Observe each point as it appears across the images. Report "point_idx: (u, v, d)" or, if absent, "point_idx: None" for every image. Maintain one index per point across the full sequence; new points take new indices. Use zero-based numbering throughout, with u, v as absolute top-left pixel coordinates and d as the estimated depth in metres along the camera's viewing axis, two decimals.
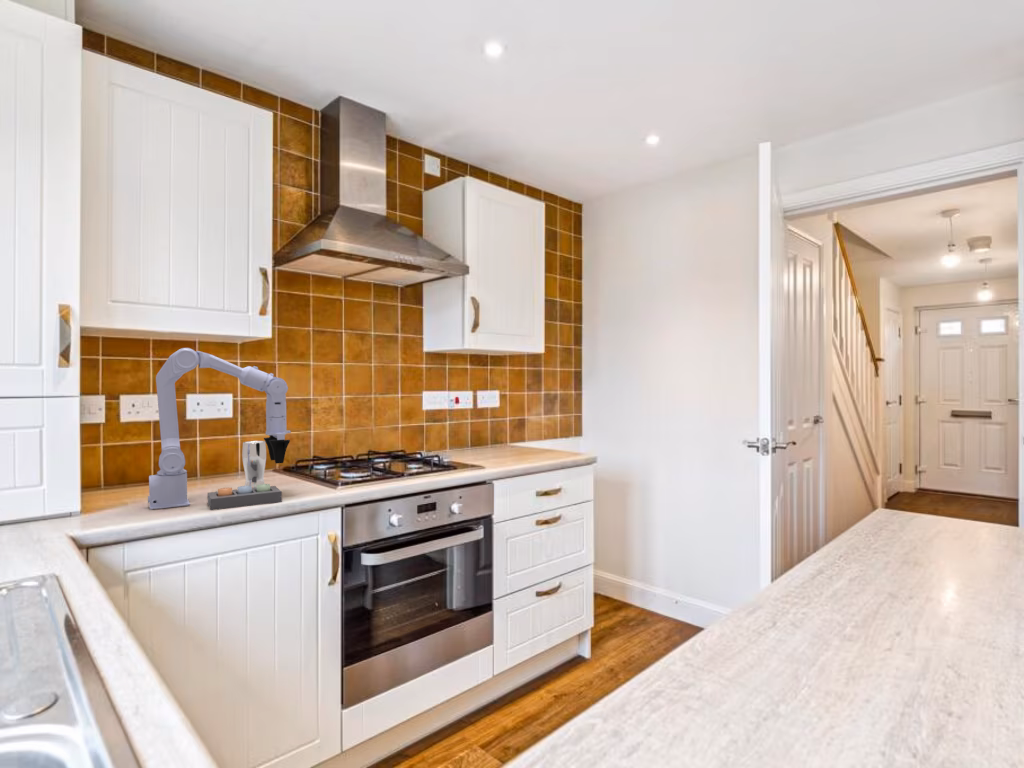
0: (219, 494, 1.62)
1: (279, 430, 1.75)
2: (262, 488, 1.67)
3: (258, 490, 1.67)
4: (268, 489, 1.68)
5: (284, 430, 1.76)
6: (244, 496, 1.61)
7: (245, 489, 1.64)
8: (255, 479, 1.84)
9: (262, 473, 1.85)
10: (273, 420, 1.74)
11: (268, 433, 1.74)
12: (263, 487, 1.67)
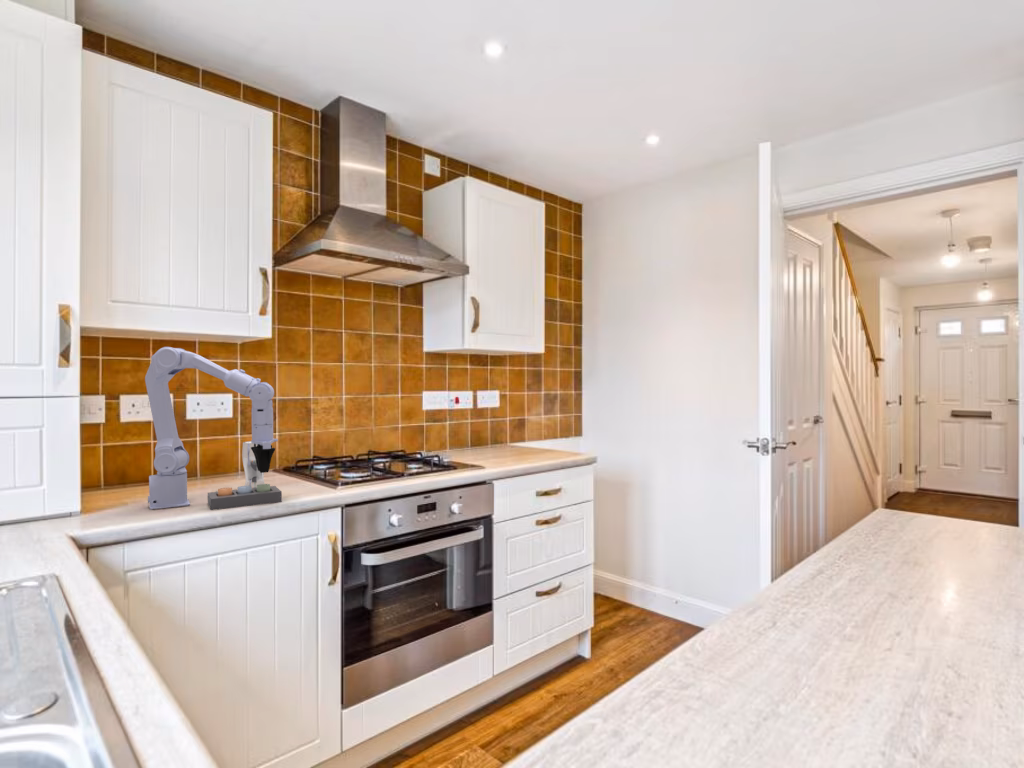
0: (219, 494, 1.62)
1: (265, 438, 1.66)
2: (262, 488, 1.67)
3: (258, 490, 1.67)
4: (268, 489, 1.68)
5: (271, 438, 1.67)
6: (244, 496, 1.61)
7: (245, 489, 1.64)
8: (255, 479, 1.84)
9: (262, 473, 1.85)
10: (259, 428, 1.65)
11: (254, 442, 1.65)
12: (263, 487, 1.67)
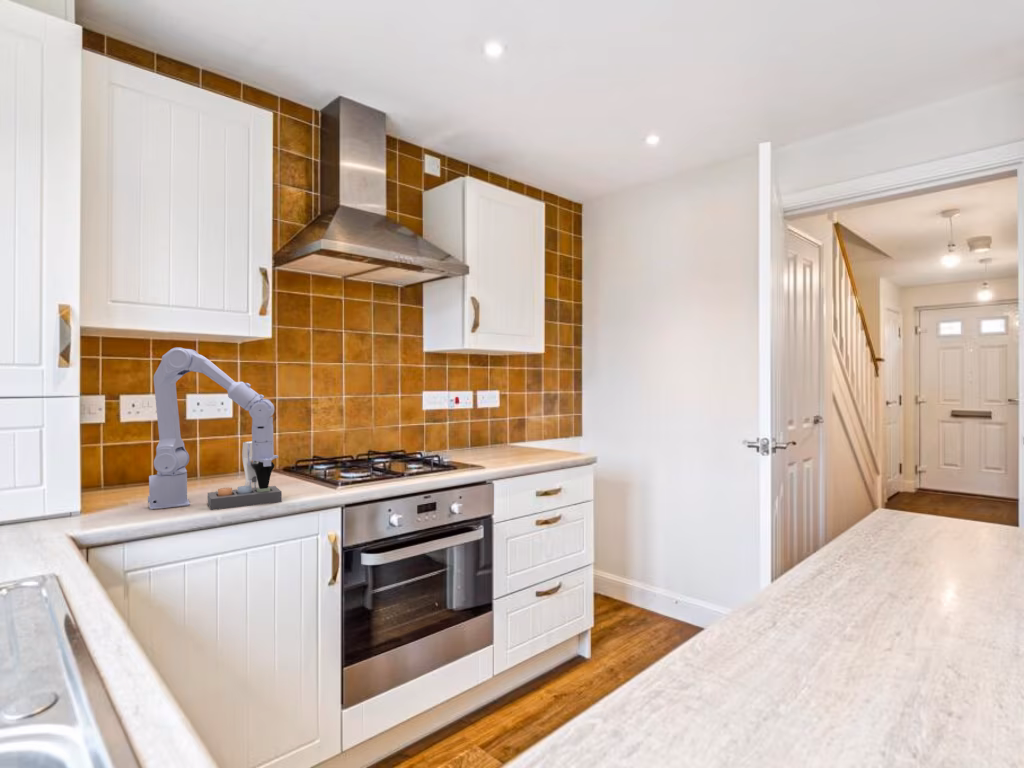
0: (219, 494, 1.62)
1: (265, 455, 1.66)
2: (262, 491, 1.67)
3: None
4: None
5: (271, 455, 1.67)
6: (244, 496, 1.61)
7: (245, 489, 1.64)
8: (255, 479, 1.84)
9: None
10: (259, 445, 1.65)
11: (254, 459, 1.65)
12: (263, 490, 1.67)
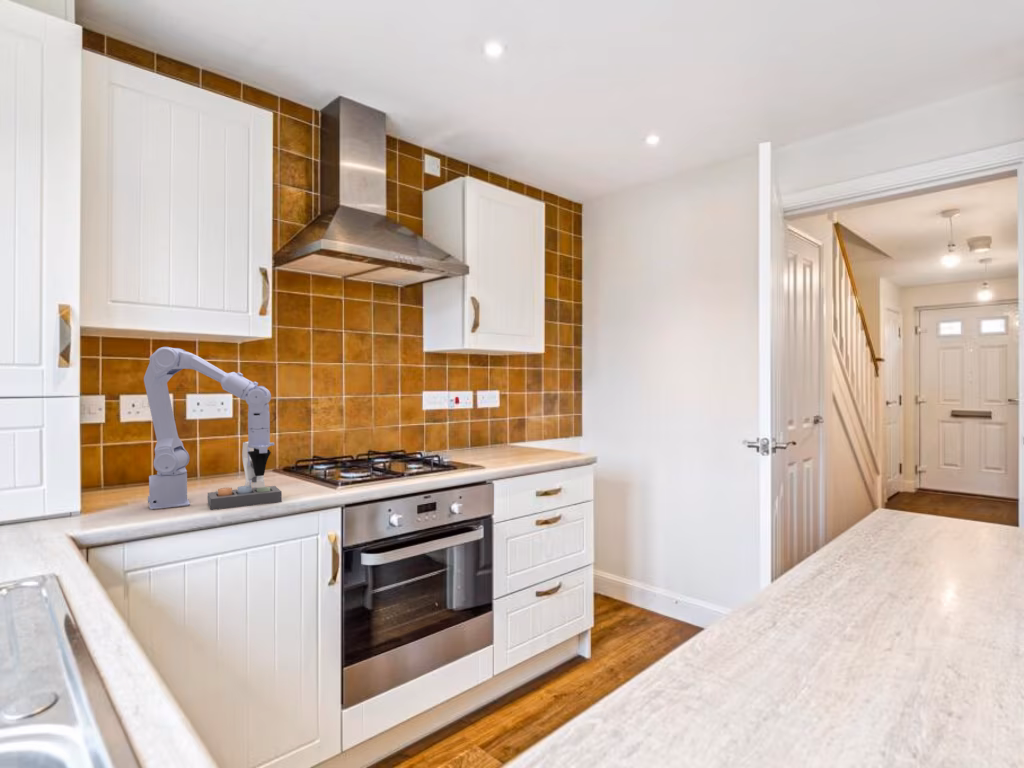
0: (219, 494, 1.62)
1: (262, 442, 1.66)
2: (262, 491, 1.67)
3: None
4: None
5: (267, 442, 1.67)
6: (244, 496, 1.61)
7: (245, 489, 1.64)
8: (255, 479, 1.84)
9: None
10: (255, 432, 1.65)
11: (250, 446, 1.65)
12: (263, 490, 1.67)
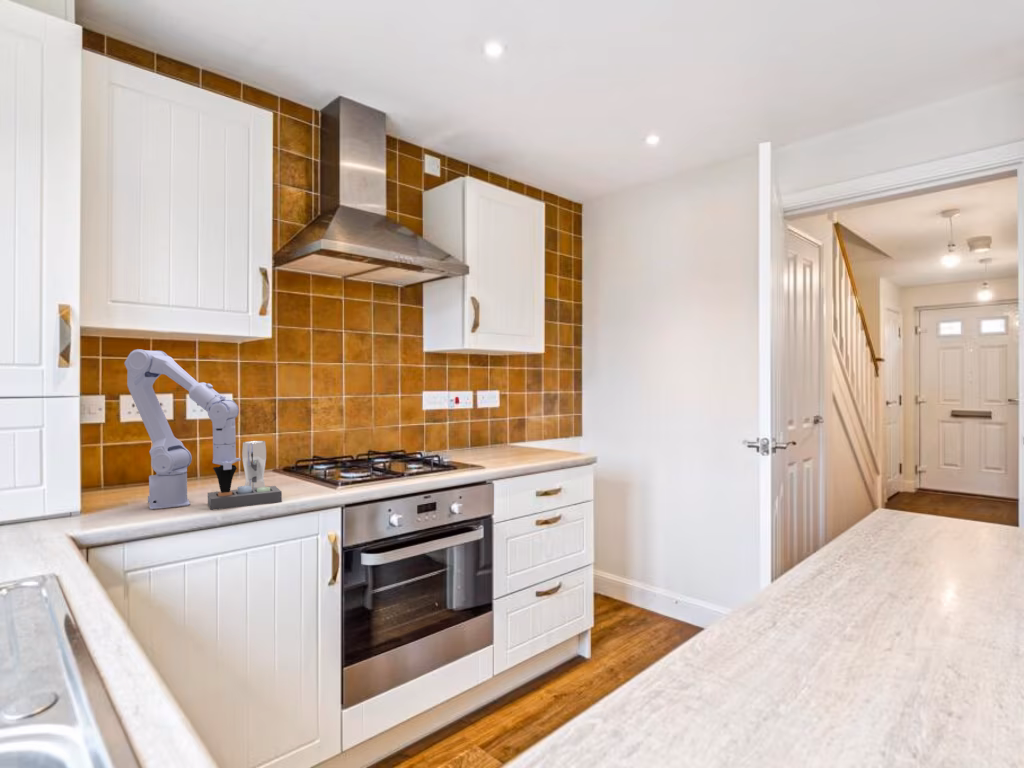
0: None
1: (227, 458, 1.61)
2: (262, 491, 1.67)
3: None
4: None
5: (233, 458, 1.62)
6: (244, 496, 1.61)
7: (245, 489, 1.64)
8: (255, 479, 1.84)
9: (262, 473, 1.85)
10: (220, 448, 1.60)
11: (214, 462, 1.60)
12: (263, 490, 1.67)
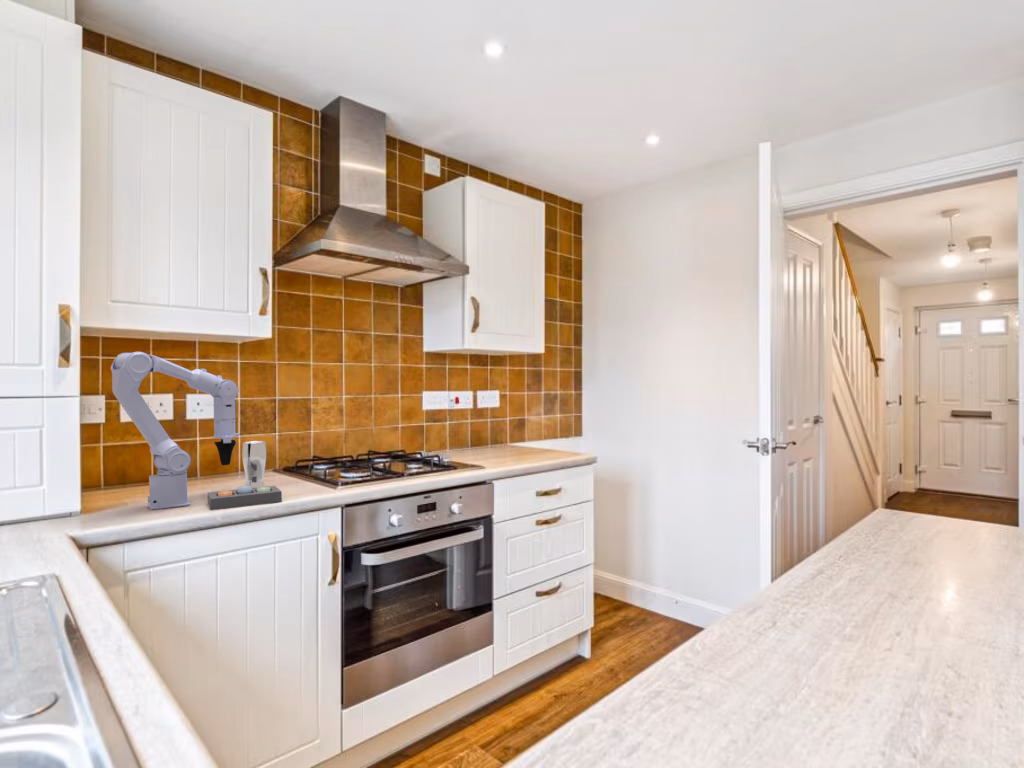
0: None
1: (227, 433, 1.73)
2: (262, 491, 1.67)
3: None
4: None
5: (232, 433, 1.74)
6: (244, 496, 1.61)
7: (245, 489, 1.64)
8: (255, 479, 1.84)
9: (262, 473, 1.85)
10: (220, 423, 1.72)
11: (215, 436, 1.72)
12: (263, 490, 1.67)
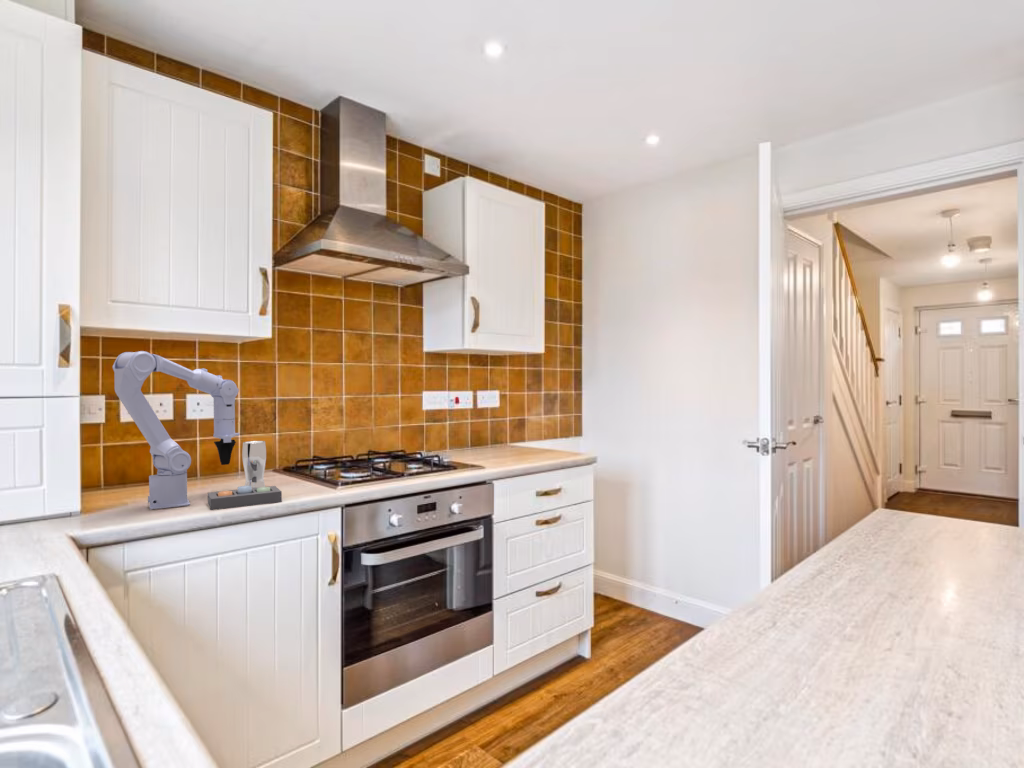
0: None
1: (226, 433, 1.73)
2: (262, 491, 1.67)
3: None
4: None
5: (232, 433, 1.75)
6: (244, 496, 1.61)
7: (245, 489, 1.64)
8: (255, 479, 1.84)
9: (262, 473, 1.85)
10: (220, 423, 1.73)
11: (215, 436, 1.73)
12: (263, 490, 1.67)
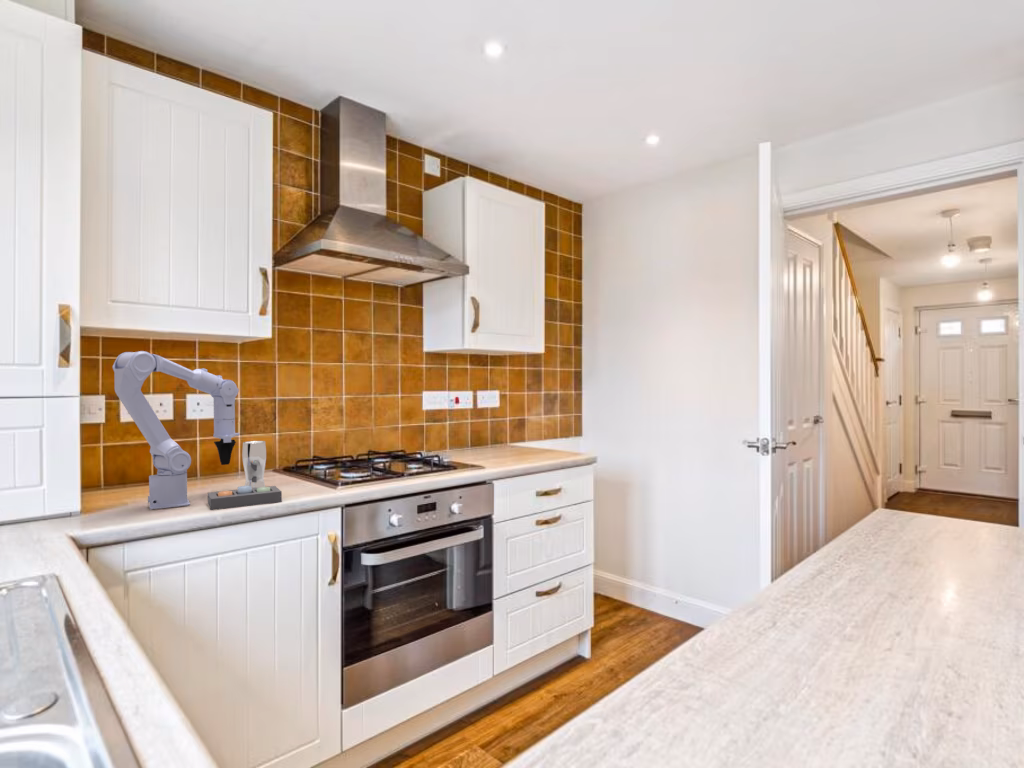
0: None
1: (226, 433, 1.73)
2: (262, 491, 1.67)
3: None
4: None
5: (232, 433, 1.75)
6: (244, 496, 1.61)
7: (245, 489, 1.64)
8: (255, 479, 1.84)
9: (262, 473, 1.85)
10: (220, 423, 1.73)
11: (215, 436, 1.73)
12: (263, 490, 1.67)
